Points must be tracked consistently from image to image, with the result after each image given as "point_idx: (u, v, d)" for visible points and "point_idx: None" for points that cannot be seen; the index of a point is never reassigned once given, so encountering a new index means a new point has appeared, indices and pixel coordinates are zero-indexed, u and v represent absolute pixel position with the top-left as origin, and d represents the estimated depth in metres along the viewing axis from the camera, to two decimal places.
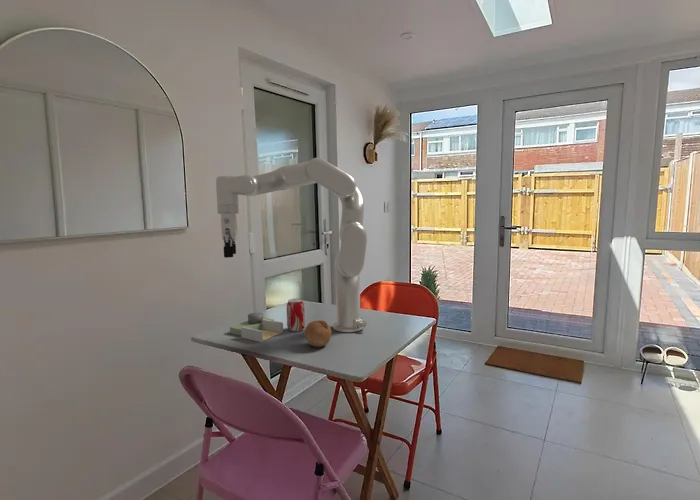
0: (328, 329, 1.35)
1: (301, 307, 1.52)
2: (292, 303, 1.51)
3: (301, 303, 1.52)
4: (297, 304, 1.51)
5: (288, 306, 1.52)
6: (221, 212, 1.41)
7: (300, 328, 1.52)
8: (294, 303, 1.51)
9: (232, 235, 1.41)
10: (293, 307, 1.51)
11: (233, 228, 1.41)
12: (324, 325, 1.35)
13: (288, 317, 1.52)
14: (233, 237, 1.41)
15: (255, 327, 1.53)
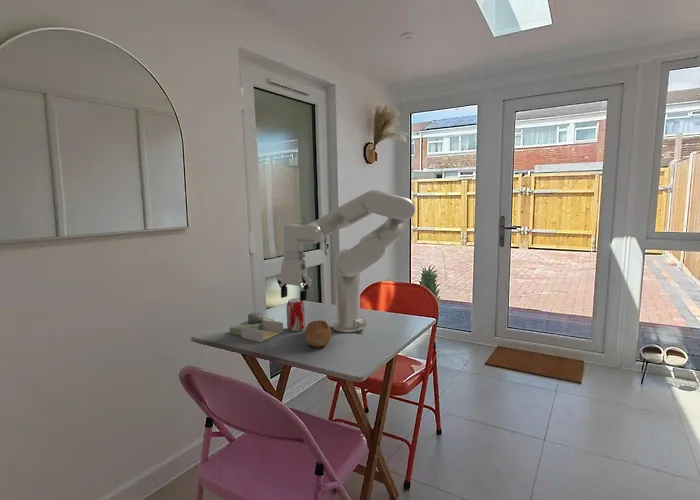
0: (328, 329, 1.35)
1: (301, 307, 1.52)
2: (292, 303, 1.51)
3: (301, 303, 1.52)
4: (297, 304, 1.51)
5: (288, 306, 1.52)
6: (296, 259, 1.49)
7: (300, 328, 1.52)
8: (294, 303, 1.51)
9: (306, 279, 1.52)
10: (293, 307, 1.51)
11: (306, 273, 1.52)
12: (323, 325, 1.35)
13: (288, 317, 1.52)
14: (306, 281, 1.52)
15: (255, 327, 1.53)
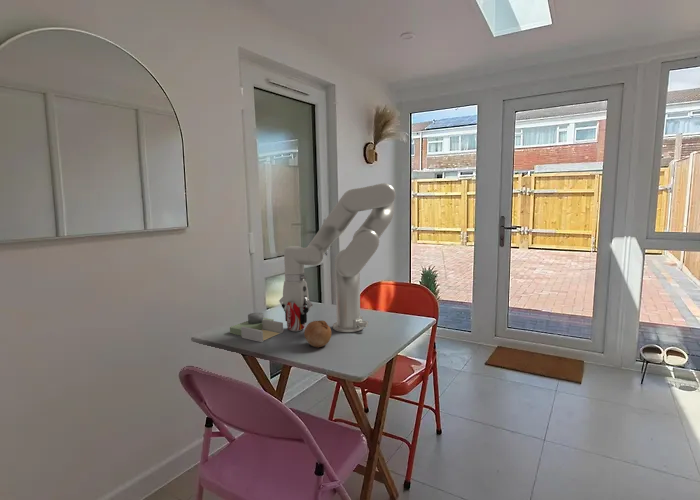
0: (328, 329, 1.35)
1: None
2: (292, 303, 1.51)
3: None
4: None
5: (288, 306, 1.52)
6: (297, 281, 1.50)
7: (300, 328, 1.52)
8: (294, 303, 1.51)
9: None
10: (293, 307, 1.51)
11: (308, 294, 1.53)
12: (323, 325, 1.35)
13: (288, 317, 1.52)
14: None
15: (255, 327, 1.53)
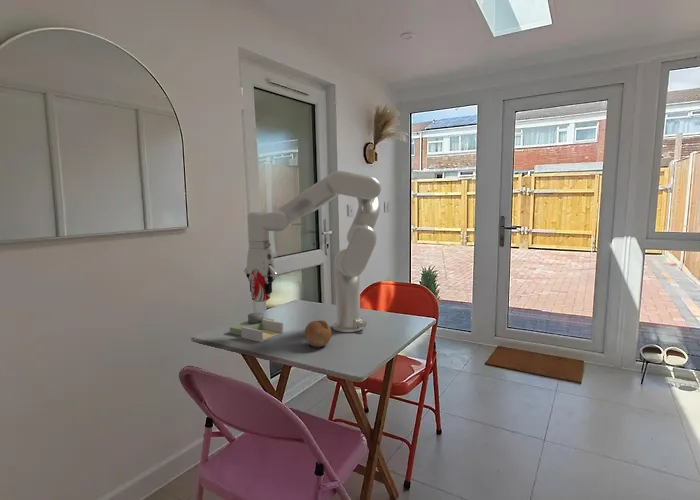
0: (328, 329, 1.35)
1: None
2: (256, 271, 1.44)
3: None
4: None
5: (252, 275, 1.44)
6: (261, 248, 1.42)
7: (264, 298, 1.45)
8: (258, 271, 1.43)
9: None
10: (257, 276, 1.43)
11: (273, 263, 1.45)
12: (323, 325, 1.35)
13: (252, 286, 1.45)
14: None
15: (255, 327, 1.53)
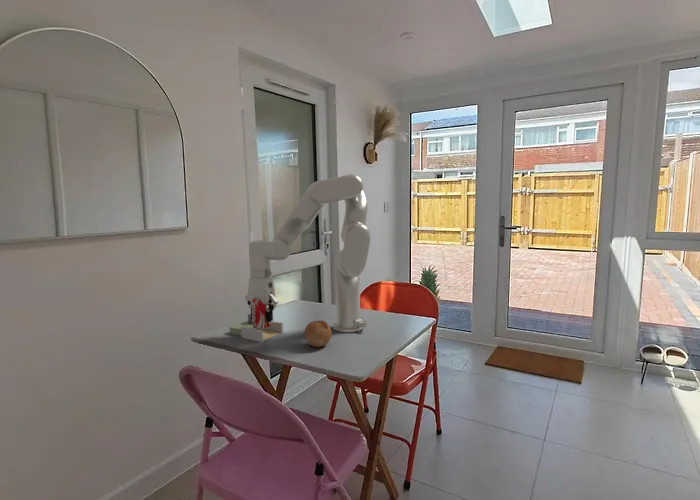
0: (328, 329, 1.35)
1: None
2: (257, 300, 1.45)
3: None
4: None
5: (253, 303, 1.45)
6: (262, 277, 1.43)
7: (265, 326, 1.46)
8: (259, 300, 1.45)
9: None
10: (258, 304, 1.44)
11: (274, 291, 1.46)
12: (323, 325, 1.35)
13: (253, 314, 1.46)
14: None
15: None
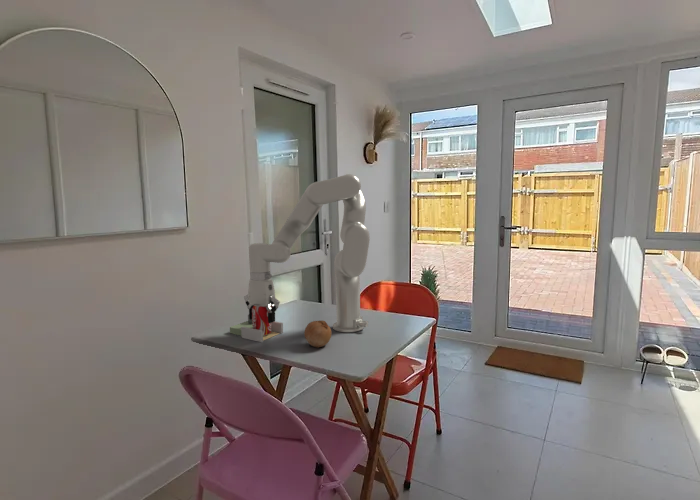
0: (328, 329, 1.35)
1: (267, 311, 1.46)
2: (257, 307, 1.45)
3: None
4: (262, 308, 1.45)
5: (253, 310, 1.46)
6: (262, 280, 1.43)
7: (266, 333, 1.47)
8: (259, 307, 1.45)
9: None
10: (258, 311, 1.45)
11: (274, 293, 1.47)
12: (323, 325, 1.35)
13: (253, 321, 1.46)
14: None
15: None
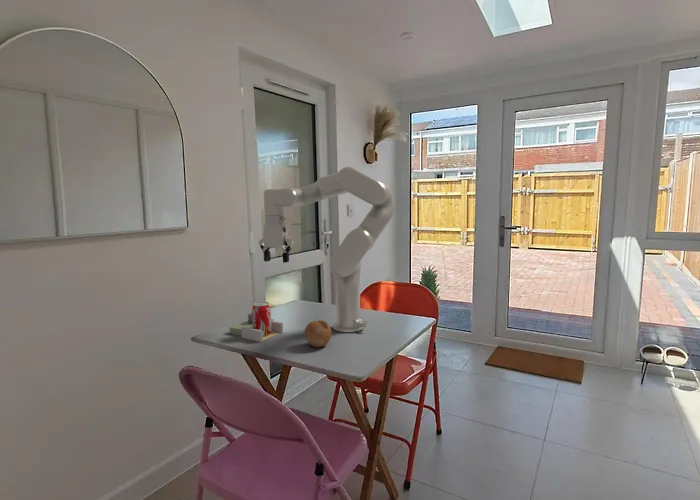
0: (328, 329, 1.35)
1: (267, 311, 1.46)
2: (257, 307, 1.45)
3: (267, 307, 1.47)
4: (262, 308, 1.45)
5: (253, 310, 1.46)
6: (277, 222, 1.55)
7: (266, 333, 1.47)
8: (259, 307, 1.45)
9: None
10: (258, 311, 1.45)
11: None
12: (323, 325, 1.35)
13: (253, 321, 1.46)
14: (288, 244, 1.59)
15: None
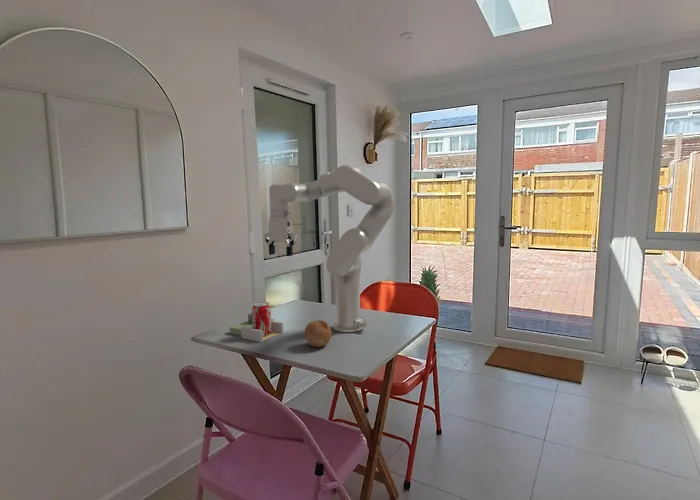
0: (328, 329, 1.35)
1: (267, 311, 1.46)
2: (257, 307, 1.45)
3: (267, 307, 1.47)
4: (262, 308, 1.45)
5: (253, 310, 1.46)
6: (282, 216, 1.59)
7: (266, 333, 1.47)
8: (259, 307, 1.45)
9: (292, 236, 1.63)
10: (258, 311, 1.45)
11: None
12: (323, 325, 1.35)
13: (253, 321, 1.46)
14: (292, 238, 1.63)
15: None
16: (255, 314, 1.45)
